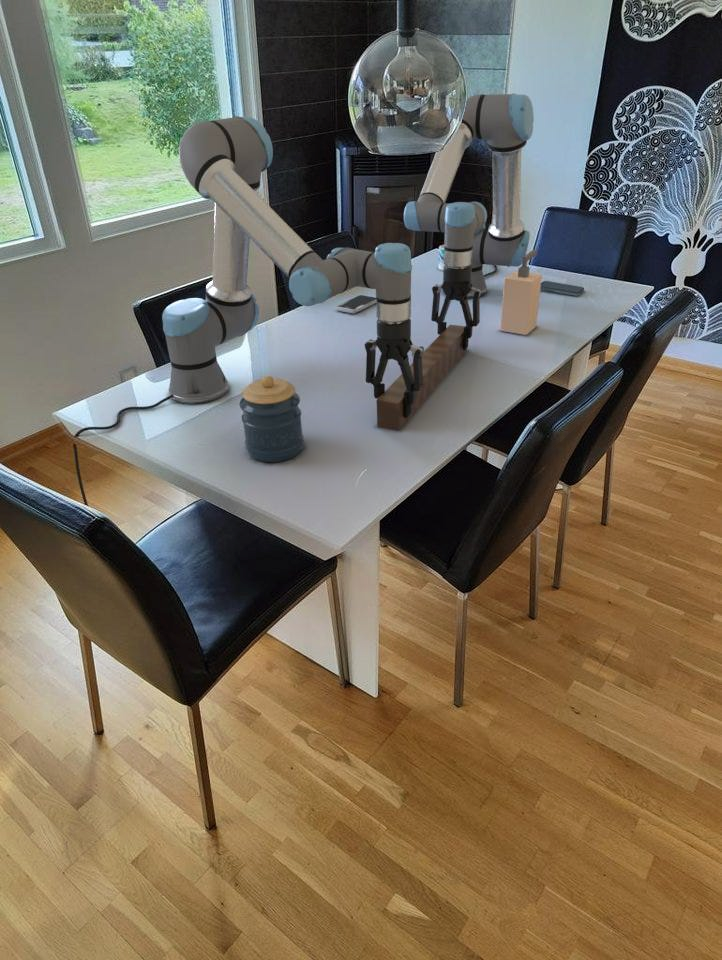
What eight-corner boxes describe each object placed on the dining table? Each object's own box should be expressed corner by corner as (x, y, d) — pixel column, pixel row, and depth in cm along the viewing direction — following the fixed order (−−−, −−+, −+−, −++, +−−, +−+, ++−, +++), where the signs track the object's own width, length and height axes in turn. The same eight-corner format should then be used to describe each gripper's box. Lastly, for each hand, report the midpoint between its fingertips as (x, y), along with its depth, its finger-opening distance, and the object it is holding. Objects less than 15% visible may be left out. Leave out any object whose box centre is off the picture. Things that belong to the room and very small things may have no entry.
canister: (251, 467, 144) (240, 393, 134) (242, 439, 155) (232, 368, 145) (310, 457, 147) (303, 383, 137) (297, 430, 157) (291, 360, 148)
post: (398, 431, 156) (398, 403, 152) (377, 427, 158) (376, 399, 154) (466, 350, 196) (468, 326, 192) (449, 348, 198) (450, 324, 194)
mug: (435, 269, 266) (435, 247, 261) (448, 261, 274) (449, 240, 270) (453, 271, 262) (454, 249, 258) (466, 264, 270) (467, 242, 266)
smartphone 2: (578, 293, 231) (536, 285, 238) (577, 297, 232) (536, 290, 239) (585, 287, 236) (544, 280, 243) (584, 291, 237) (543, 284, 244)
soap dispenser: (526, 335, 203) (534, 261, 191) (499, 330, 207) (505, 258, 195) (541, 322, 212) (549, 251, 200) (515, 318, 216) (521, 248, 204)
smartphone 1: (378, 298, 234) (353, 310, 224) (378, 301, 235) (353, 314, 225) (360, 294, 238) (335, 306, 228) (360, 298, 239) (335, 310, 228)
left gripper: (440, 317, 146) (437, 412, 158) (361, 308, 153) (364, 399, 165) (428, 329, 140) (426, 427, 153) (347, 318, 147) (351, 412, 160)
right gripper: (496, 264, 179) (490, 346, 192) (429, 258, 186) (427, 338, 199) (488, 272, 173) (482, 356, 186) (419, 265, 180) (418, 347, 193)
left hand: (394, 412), depth 159 cm, fingers open, 6 cm apart
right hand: (454, 346), depth 192 cm, fingers open, 6 cm apart
